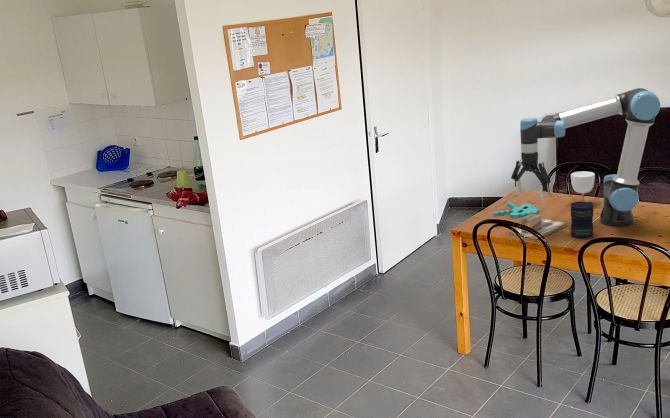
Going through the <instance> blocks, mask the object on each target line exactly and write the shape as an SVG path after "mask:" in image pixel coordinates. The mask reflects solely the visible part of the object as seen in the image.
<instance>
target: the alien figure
mask: <svg viewBox="0 0 670 418" xmlns="http://www.w3.org/2000/svg"><path fill="white" fill-rule="evenodd" d="M506 207H508V208H509V209H510V210H509V209H506V210H500V211H493V213H492V214H493V215H492V216H493V217H499V216H505V215H506V216H508V215H509V217H510V218H511V219H517V218H518V219H519V218H523V217H526V216H528V215H530V214H537V215H539V214H540V212H541V209H540V208H538V207H536V206H535V205H533V204H532V203H523V204H522V205H520V206H518V205H516V204H515V203H513V202H509V201H508V202H507V203H506ZM510 218H509V219H510Z"/></svg>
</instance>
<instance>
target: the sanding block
mask: <svg viewBox="0 0 670 418" xmlns="http://www.w3.org/2000/svg"><path fill="white" fill-rule="evenodd" d="M541 218H542V215H541V214H530V215H528V216H525V217H523V218H522V217H520V225H521V224H522V225H525V226H528V227H530V228H532V229H534V230H539V229H541V228H542V223H541ZM521 231H522V232H526V231H524V230H521ZM526 233H528V232H526Z"/></svg>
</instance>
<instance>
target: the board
mask: <svg viewBox="0 0 670 418" xmlns="http://www.w3.org/2000/svg"><path fill="white" fill-rule="evenodd" d="M541 223H542V228H541V229H539V230H536V231H538V232H539V233H541V234H542V235H543V236H544V237H546V236H548V235H550V234H551V233H554V232H556V231H559V230H561V229H563V228H566V227H567V223H566V222H562V221H556V220H552V219H546V218H543V217H541ZM514 229H516V230H517V231H518V232H519V233H520V234H521V235H522V236H524V237H523V238H525V237H529V238H536V237H535V236H534V235H532V234H530V233H526V232H522V231H521V229H518V227H516V228H514ZM508 234H509V235H512V234H514V235H513V236H516V235H515V233H514V232H513V231H511V230H509V233H508ZM529 238H528V239H529Z"/></svg>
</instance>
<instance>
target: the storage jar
mask: <svg viewBox="0 0 670 418" xmlns="http://www.w3.org/2000/svg"><path fill="white" fill-rule="evenodd" d="M593 216H594V203H592V202H590V201H584V202H582V201H574V202H572V203H570V217H571V219H570V220H571V223H570V236H571V238H574V239H579V240H586V239H587V240H588V239H591V238H593V236H594V223H593V222H594V220H593Z"/></svg>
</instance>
